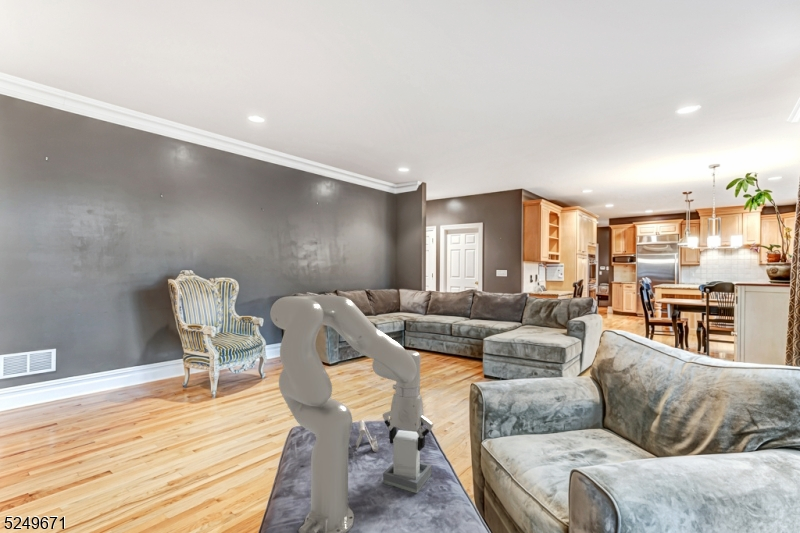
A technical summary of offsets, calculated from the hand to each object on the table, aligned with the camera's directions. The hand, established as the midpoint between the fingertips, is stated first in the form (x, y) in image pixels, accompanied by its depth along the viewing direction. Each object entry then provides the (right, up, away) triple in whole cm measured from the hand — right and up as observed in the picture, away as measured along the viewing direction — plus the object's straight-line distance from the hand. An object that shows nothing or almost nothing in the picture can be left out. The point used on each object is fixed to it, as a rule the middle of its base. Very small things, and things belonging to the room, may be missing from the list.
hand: (406, 445), depth 119 cm
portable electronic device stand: (-15, -11, +22) cm, 28 cm away
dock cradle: (0, -11, 0) cm, 11 cm away
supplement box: (0, -10, 0) cm, 10 cm away
